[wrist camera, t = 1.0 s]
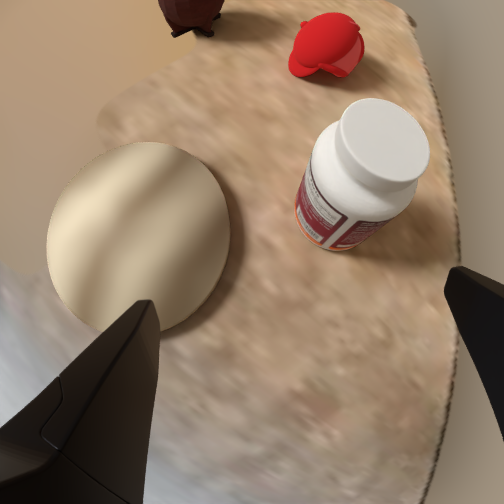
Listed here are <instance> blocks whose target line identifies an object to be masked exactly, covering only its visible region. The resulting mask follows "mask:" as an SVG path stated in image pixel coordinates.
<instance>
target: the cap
mask: <svg viewBox="0 0 504 504" xmlns="http://www.w3.org/2000/svg"><path fill="white" fill-rule="evenodd" d="M300 26H301V30H300V31H299V32H298V34H297V36H296V38H295V41H294V46H293V51H292V52H291V55H290V57H289V62H288V66H289V70H290V72H291V73H292V74H293V75H294V76H297V77H305V76H308V75H311V74H313V73H314V72H316V71H317V70H319V69H320V68H321V69H323V70H326V71H328V72H330V73H332V74H334V75H335V76H337V77H346V76H348V75H349V73H350V72H351V71H352V70H353V69H354V68H355V66H356V65H357V64H358V63H359V61H360V60H361V59H362V57H363V54H364V41H363V38H362V36H361V34H360V33H359V32H358V31H359V30H360V27H359V26H358V25H357V24H356V23H355V22H354V20H353V19H352V18H350V17H349V16H347V15H345V14H342V13H325V14H322V15H319V16H317V17H315V18H313V19H311V20H310V21H309V22H307V21H303V22H302V23H301V24H300Z"/></svg>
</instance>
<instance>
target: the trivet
mask: <svg viewBox="0 0 504 504" xmlns="http://www.w3.org/2000/svg"><path fill="white" fill-rule="evenodd" d="M229 246H230V221H229V214H228V208H227V205H226V201H225V198H224V195H223V193H222V190H221V188H220V186H219V184H218V182H217V181H216V179H215V178H214V176H213V175H212V173H211V172H210V171H209V170H208V169H207V167H206V166H205V165H204V164H203V163H201V162H200V161H199V160H198V159H197V158H195V157H194V156H192V155H191V154H189V153H188V152H186V151H184V150H182V149H179V148H177V147H174V146H171V145H167V144H163V143H156V142H139V143H131V144H127V145H123V146H120V147H117V148H114V149H111V150H109V151H107V152H105V153H103V154H102V155H100V156H98V157H97V158H95V159H93V160H92V161H91V162H89V163H88V164H87V165H86V166H84V167H83V168H82V169H81V170H80V171H79V172H78V173H77V174H76V175H75V176H74V177H73V178H72V180H71V181H70V182H69V184H68V185H67V186H66V188H65V189H64V191H63V192H62V194H61V196H60V198H59V200H58V202H57V204H56V206H55V208H54V211H53V214H52V217H51V220H50V224H49V229H48V236H47V260H48V267H49V271H50V275H51V279H52V281H53V284H54V286H55V289H56V291H57V293H58V294H59V296H60V298H61V299H62V301H63V302H64V304H65V305H66V306H67V308H68V309H69V310H70V311H71V312H72V313H73V314H74V315H75V316H76V317H77V318H79V319H80V320H81V321H82V322H84V323H85V324H87V325H89V326H90V327H92V328H94V329H96V330H99V331H101V332H104V331H105V330H106V329H107V328H108V327H109V326H110V325H111V324H112V323H113V322H114V321H115V320H116V319H118V318H119V317H120V316H121V315H122V314H123V313H124V312H125V311H126V310H127V309H128V308H129V307H131V306H132V305H133V304H134V303H135V302H136V301H137V300H144V299H151V300H152V301H153V303H154V305H155V308H156V312H157V315H158V318H159V321H160V332H161V331H164V330H166V329H169V328H171V327H174V326H175V325H177V324H179V323H180V322H182V321H184V320H185V319H187V318H188V317H189V316H190V315H192V314H193V313H194V312H196V311H197V309H198V308H199V307H200V306H201V305H202V304H203V303H204V302H205V301H206V300H207V298H208V297H209V296H210V294H211V293H212V292H213V290H214V289H215V287H216V285H217V283H218V281H219V280H220V278H221V275H222V273H223V270H224V268H225V265H226V261H227V257H228V253H229Z"/></svg>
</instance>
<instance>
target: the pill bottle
mask: <svg viewBox="0 0 504 504" xmlns="http://www.w3.org/2000/svg"><path fill="white" fill-rule="evenodd" d="M429 159H430V148H429V143H428V140H427V137H426V135H425V133H424V131H423V129H422V128H421V126H420V125H419V123H418V122H417V121H416V120H415V119H414V118H413V116H411V115H410V114H409V113H408V112H407V111H405V110H404V109H403V108H401V107H400V106H398V105H396V104H394V103H392V102H389V101H386V100H382V99H376V98H367V99H361V100H358V101H356V102H354V103H352V104H351V105H350V106H349V107H348V108H347V109H346V110H345V111H344V113H343V115H342V117H341V119H340V120H339V121H337V122H334V123H333V124H331V125H330V126H328V127H327V128H326V129H325V130H324V131H323V132H322V133H321V134H320V136H319V137H318V139H317V141H316V143H315V146H314V148H313V151H312V153H311V156H310V159H309V162H308V165H307V168H306V170H305V173H304V176H303V179H302V182H301V184H300V187H299V190H298V192H297V195H296V199H295V206H294V211H295V217H296V221H297V224H298V226H299V228H300V230H301V231H302V233H303V234H304V235H305V236H306V237H307V239H309V240H310V241H311V242H312V243H314V244H315V245H317V246H319V247H321V248H324V249H327V250H333V251H341V250H347V249H350V248H353V247H355V246H357V245H358V244H360V243H361V242H363V241H364V240H365V239H367V238H368V237H369V236H370V235H372V234H373V233H374V232H376V231H377V230H378V229H380V228H381V227H382V226H384V225H385V224H386V223H388V222H389V221H390V220H392V219H393V218H394V217H396V216H397V215H398V214H399V213H401V212H402V211H403V210H404V209H405V208H406V207H407V206H408V205H409V203H410V202H411V200H412V199H413V197H414V194H415V192H416V188H417V182H418V178H419V177H420V176H421V175H422V174H423V173H424V172H425V170H426V168H427V166H428V164H429Z"/></svg>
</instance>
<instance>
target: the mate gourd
mask: <svg viewBox="0 0 504 504" xmlns="http://www.w3.org/2000/svg"><path fill="white" fill-rule="evenodd" d="M158 2H159V6H160V8H161V10H162V12H163V14H164V16H165V19H166V21H167V23H168V24H169V26H170V27H171V28H172V30H173V32H171V35H172V36H173V37H174V38H176V37H178V36H180V35H182V34H184V33H186V32H189V31H191V30H193V29H197V30H198V31H200V32H201V33H203V34H204V35H205V36H207V37H212V36H214V32H213V31H212V30H211V27H212V21H213V20H216V19H218V18H220V16H221V13H219V12H220V10H221V8H222V5H223V3H224V0H158Z"/></svg>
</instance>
